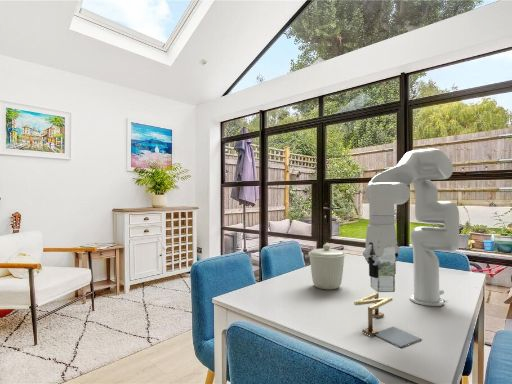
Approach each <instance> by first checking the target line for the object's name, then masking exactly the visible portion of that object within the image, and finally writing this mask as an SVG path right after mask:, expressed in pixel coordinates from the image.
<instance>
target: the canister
mask: <svg viewBox="0 0 512 384" xmlns="http://www.w3.org/2000/svg"><path fill="white" fill-rule="evenodd" d="M307 253H308V254H307V255H308V256H309V263H310V270H311V271H310V272H311V278H312V284H313V285H314V286H315V287H316V288H318V289H321V290H328V291H329V290H330V291H331V290H336V289H339V288H340V287H341V285H342V280H343V273H344V263H345V257H346V255H347V254H346V253H345V252H343V251H342V250H339V249H335V248H331V245H330V244H329V243H325V244H323V246H322V248H314V249H312V250H310V251H309V252H307Z"/></svg>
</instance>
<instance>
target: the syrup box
mask: <svg viewBox="0 0 512 384" xmlns="http://www.w3.org/2000/svg"><path fill="white" fill-rule="evenodd" d="M374 255H375V254H374ZM374 259H375V258H374V257H373V260H374ZM377 265H378V278H374V277H371V276H370V287H371V289H373V290H375V292H377V293H395V291H396V274H395V248H394V247H393V246H389V247H386V248H384V252H383V255H382V256H381V257H378V262H377Z"/></svg>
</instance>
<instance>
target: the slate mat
mask: <svg viewBox="0 0 512 384" xmlns="http://www.w3.org/2000/svg"><path fill="white" fill-rule="evenodd" d="M378 331H379V333H377V334H375V335H376V336H375V337H377V336H378V337H377V338H379V337H380V338H379V339H381V338H382V339H381V340H383V339H384V340H383V341H385V340H386V341H385V342H387V341H388V342H387V343H389V342H391V343H393V344H395V345H397V346H399V347H398V348H400V347H402V348H404V347H403V346H405V347H407V346H406V345H408V344H410V345H412V344H411V343H413V344H415V343H418V342H420V341H422V337H419V336H416V335H414V334H412V333H409V332H406V331H405V330H402V329H400V328H397V327H395V326H391V327H387V328H384V329H382V330H378ZM417 341H418V342H417ZM414 342H415V343H414ZM391 343H390V344H391ZM393 344H392V345H393ZM395 345H394V346H395ZM397 346H396V347H397ZM408 346H409V345H408Z"/></svg>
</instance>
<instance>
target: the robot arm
mask: <svg viewBox="0 0 512 384" xmlns="http://www.w3.org/2000/svg"><path fill="white" fill-rule="evenodd" d="M453 171H454V166H453V162H452V160H451V159H450V158H449V157H448V155H446V154H445V153H444V152H443V151H442V150H441V149H438V148H427V149H415V150H410V151H407V152H406V153H405V154H404V155H403V156H402V157H401V158H400V160H399V161H398V162H397V164H396V165H395V166H393V167H391V168H388V169H386V170H384V171H382V172H380V173H378V174H376V175H375V176H373V177H372V178H371V180H370V181H369V182H368V183H367V185H366V186H365V188H364V189H365V191H364V198H365V200H366V201H367V202H368V206H369V207H368V208H369V209H368V213H369V215H368V216H369V217H368V219H369V221H368V222H369V223H368V225H367V228H366V232H365V233H366V234H365V249H364V251H363V252H362V256H363V257H364V258H365V261H366V262H367V264H368V276H369V277H370V278H371V277H374V278H378V265H377V262H378V257H381V256H382V255H383V252H384V248H386V247H389V246H393V247H394V248H395V275H396V274H397V272H396V271H397V270H396V269H397V268H396V263H397V262H398V261H397V259H398V257H399V254H400V252H401V247H400V246H399V245H398V241H397V238H398V237H397V230H396V226H395V225H396V224H395V205H403V204H405V203H407V202H408V201H409V199H410V197H411V189H410V187H409V185H412V187H413V188H414V198H415V199H414V214H415V215H414V217H415V220H416V221H417V222H418V223H422V224H428V225H429V224H430V225H443V226H444V227H435V226H417V227H414V228H412V230H411V232H410V241H411V247H412V254H413V260H412V261H413V294H411V295H410V296H409V299H410V301H411V302H413V303H415V304H418V305H422V306H427V307H439V306H440V307H441V306H444V304H445V302H444V300H443V298H441V295H444V294H445V291H444V290H443V289H440V260H439V257H438V256H437V255H436V253H435V251H437V252H438V251H439V252H447V253H448V252H449V253H454V252H456V251H457V250H458V249H459V247H460V211H459V207H458V205H457V204H456V203H455V202H454V201H448V200H447V201H442V200H440V201H439V192H438V190H439V189H438V187H437V186H436V185H435V184H434V182H433V181H432V180H435V181H436V180H447V179H449V178H450V177H451V176H452V175H453ZM374 254H375V255H374ZM373 257H374V258H375V259H374V260H373Z"/></svg>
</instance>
